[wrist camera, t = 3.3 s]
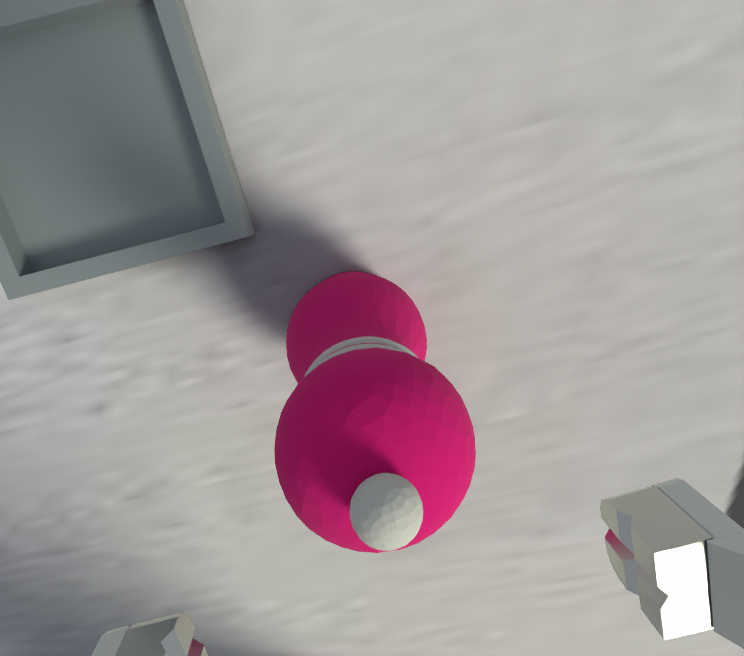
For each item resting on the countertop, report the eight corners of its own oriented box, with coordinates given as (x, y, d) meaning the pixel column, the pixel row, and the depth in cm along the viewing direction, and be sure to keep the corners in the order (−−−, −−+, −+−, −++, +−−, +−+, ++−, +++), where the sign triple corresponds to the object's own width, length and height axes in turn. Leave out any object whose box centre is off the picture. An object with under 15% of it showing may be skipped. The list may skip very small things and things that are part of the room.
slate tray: (255, 233, 29) (249, 236, 27) (32, 292, 29) (8, 299, 27) (176, -21, 26) (162, -41, 24) (-77, 44, 26) (-114, 30, 23)
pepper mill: (275, 355, 31) (182, 619, 12) (318, 243, 30) (295, 332, 10) (384, 395, 32) (465, 694, 13) (431, 289, 31) (602, 447, 11)
